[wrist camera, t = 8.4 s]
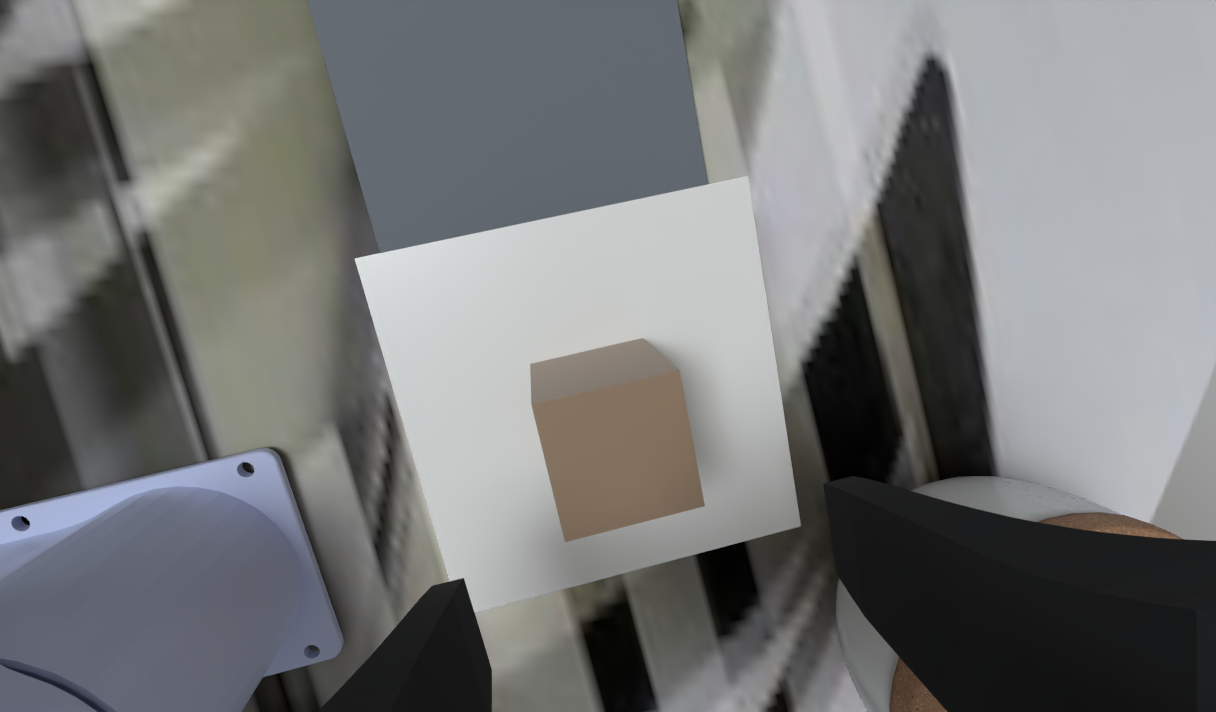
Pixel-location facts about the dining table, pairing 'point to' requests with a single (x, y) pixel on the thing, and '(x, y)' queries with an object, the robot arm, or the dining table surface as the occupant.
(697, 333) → the lid
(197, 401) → the dining table surface
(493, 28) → the mat
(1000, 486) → the lidded jar
